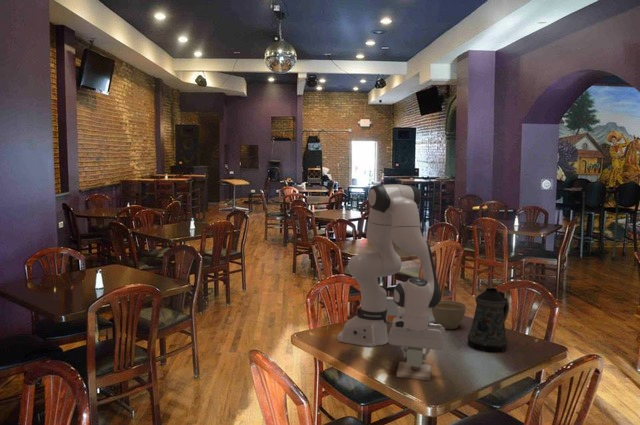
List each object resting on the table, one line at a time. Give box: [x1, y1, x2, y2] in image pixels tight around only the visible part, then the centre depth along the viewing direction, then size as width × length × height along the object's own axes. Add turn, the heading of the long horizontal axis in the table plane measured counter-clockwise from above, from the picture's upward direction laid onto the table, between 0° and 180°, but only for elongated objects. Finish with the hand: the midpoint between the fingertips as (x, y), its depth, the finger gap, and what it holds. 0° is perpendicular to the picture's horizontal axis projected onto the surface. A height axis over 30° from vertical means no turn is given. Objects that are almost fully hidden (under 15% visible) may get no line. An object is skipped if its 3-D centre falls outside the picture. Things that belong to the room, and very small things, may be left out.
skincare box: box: [386, 296, 399, 324], centre depth 259 cm, size 6×4×12 cm
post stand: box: [396, 361, 432, 381], centre depth 197 cm, size 12×12×7 cm
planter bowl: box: [431, 299, 467, 330], centre depth 254 cm, size 16×16×11 cm
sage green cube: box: [406, 347, 424, 367], centre depth 196 cm, size 5×5×6 cm
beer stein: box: [467, 287, 510, 354], centre depth 228 cm, size 16×19×25 cm
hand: (414, 358), depth 196 cm, fingers closed on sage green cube, 5 cm apart
